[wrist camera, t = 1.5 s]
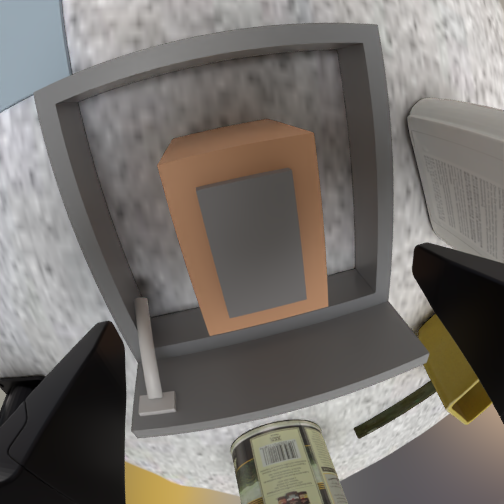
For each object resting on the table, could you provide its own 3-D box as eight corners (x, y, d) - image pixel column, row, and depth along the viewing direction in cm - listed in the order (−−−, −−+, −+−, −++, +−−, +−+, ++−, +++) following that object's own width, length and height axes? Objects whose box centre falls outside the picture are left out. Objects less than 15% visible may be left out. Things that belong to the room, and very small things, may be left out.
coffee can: (263, 469, 34) (287, 563, 21) (211, 446, 29) (228, 566, 16) (335, 436, 32) (374, 534, 20) (295, 407, 27) (339, 539, 15)
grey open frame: (146, 340, 21) (137, 438, 14) (58, 91, 13) (-33, 98, 6) (367, 286, 22) (426, 362, 15) (350, 33, 14) (446, 8, 7)
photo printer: (467, 215, 21) (583, 299, 10) (429, 241, 21) (546, 344, 10) (440, 89, 16) (607, 128, 5) (394, 109, 16) (579, 161, 5)
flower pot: (392, 334, 25) (445, 411, 17) (462, 264, 23) (531, 325, 15) (424, 365, 29) (466, 426, 21) (482, 309, 27) (532, 361, 19)
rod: (354, 428, 33) (359, 440, 31) (352, 425, 32) (357, 438, 30) (539, 283, 29) (548, 291, 27) (539, 279, 28) (549, 287, 27)
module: (203, 255, 19) (210, 342, 12) (172, 138, 15) (155, 167, 9) (285, 236, 19) (331, 312, 13) (267, 118, 16) (318, 134, 9)
